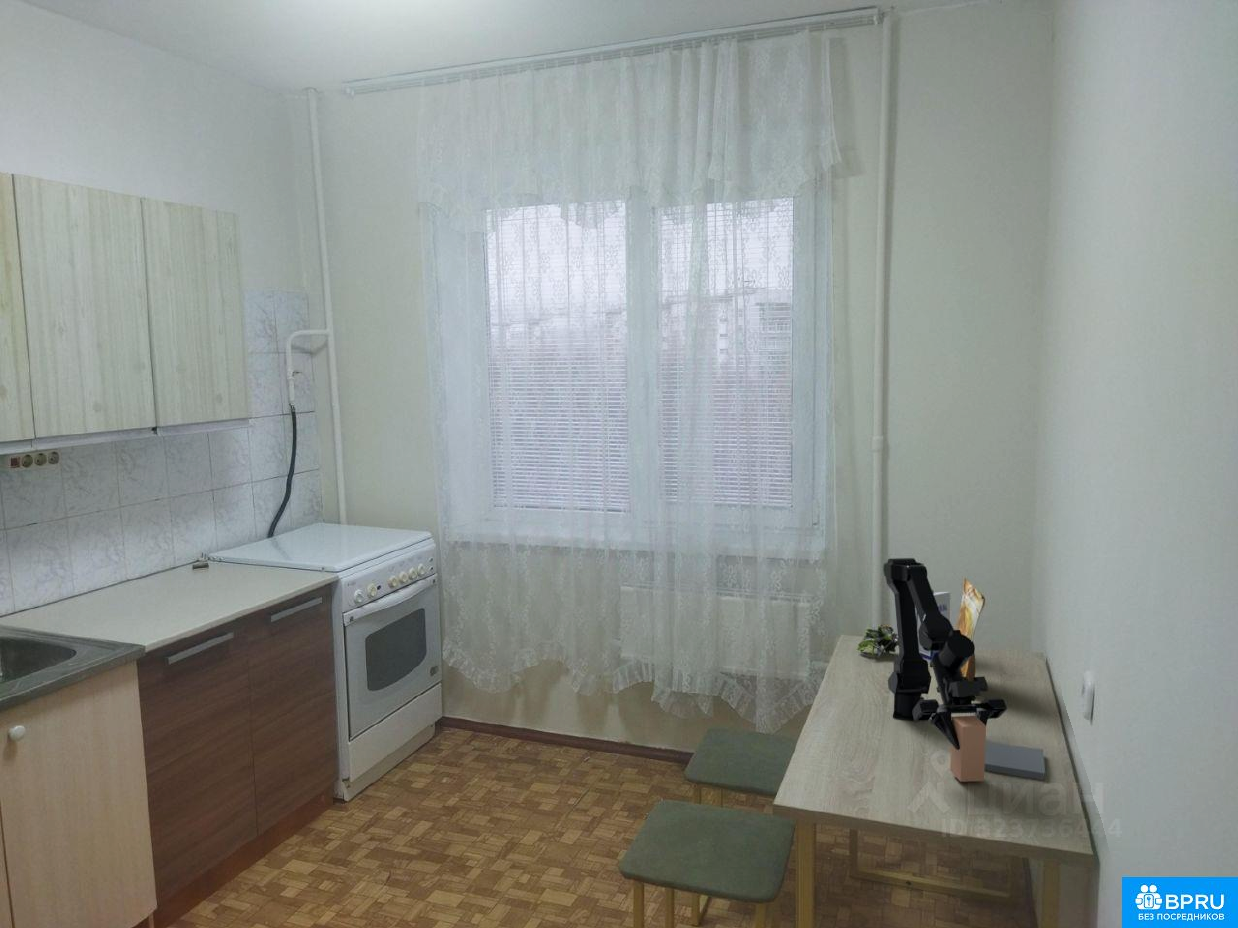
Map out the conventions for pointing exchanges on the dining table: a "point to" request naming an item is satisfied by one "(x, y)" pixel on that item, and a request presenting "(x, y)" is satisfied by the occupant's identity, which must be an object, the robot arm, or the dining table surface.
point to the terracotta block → (968, 749)
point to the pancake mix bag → (970, 620)
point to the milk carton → (944, 608)
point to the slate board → (1014, 760)
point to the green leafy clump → (879, 640)
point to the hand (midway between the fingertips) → (970, 748)
